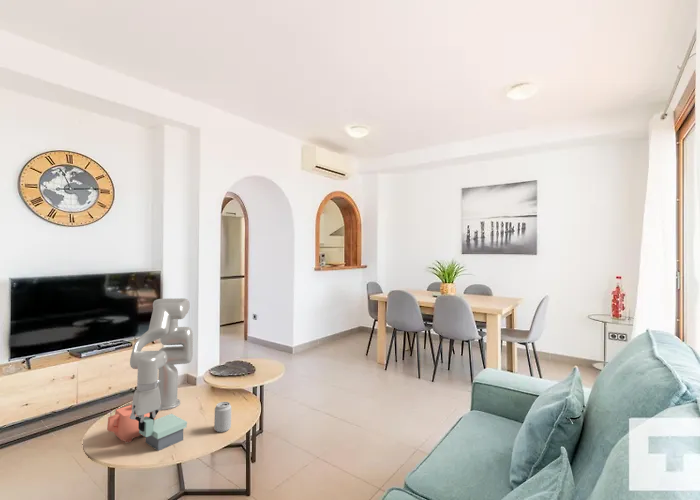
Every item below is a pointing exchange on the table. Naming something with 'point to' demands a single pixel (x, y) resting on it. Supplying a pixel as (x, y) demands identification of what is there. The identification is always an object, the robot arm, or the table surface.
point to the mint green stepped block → (162, 426)
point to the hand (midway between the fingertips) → (146, 428)
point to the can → (222, 417)
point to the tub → (165, 440)
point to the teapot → (124, 424)
